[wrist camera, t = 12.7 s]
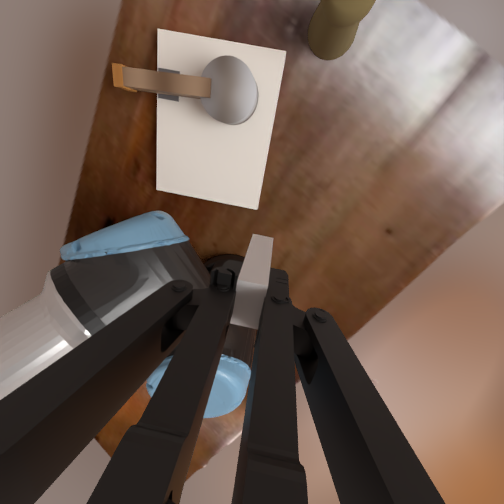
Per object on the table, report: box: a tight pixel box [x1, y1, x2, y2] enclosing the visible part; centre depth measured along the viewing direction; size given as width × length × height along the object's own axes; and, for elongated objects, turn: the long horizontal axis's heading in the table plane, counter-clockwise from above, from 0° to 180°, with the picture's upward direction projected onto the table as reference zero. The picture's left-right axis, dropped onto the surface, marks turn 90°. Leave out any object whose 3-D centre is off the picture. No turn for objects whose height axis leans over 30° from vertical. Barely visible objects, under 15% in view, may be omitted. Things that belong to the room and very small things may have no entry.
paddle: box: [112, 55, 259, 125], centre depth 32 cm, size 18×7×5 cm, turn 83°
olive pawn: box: [308, 0, 376, 60], centre depth 26 cm, size 6×6×11 cm
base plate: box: [156, 29, 286, 210], centre depth 37 cm, size 21×17×2 cm
